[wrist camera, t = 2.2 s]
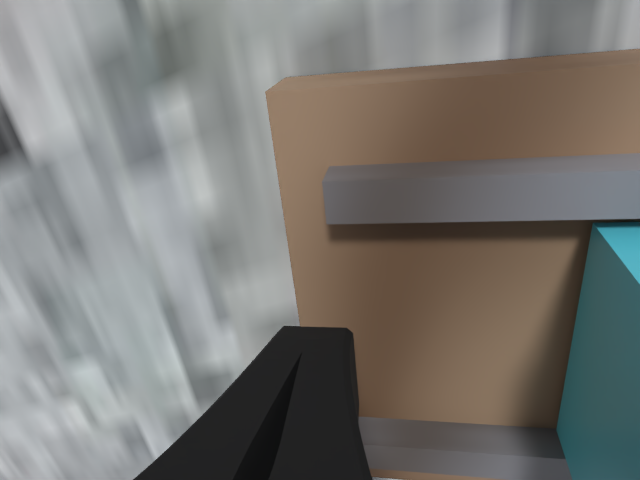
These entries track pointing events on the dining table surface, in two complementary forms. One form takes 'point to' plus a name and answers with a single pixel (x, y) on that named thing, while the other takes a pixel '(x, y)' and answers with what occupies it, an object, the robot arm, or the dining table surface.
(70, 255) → the dining table surface
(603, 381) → the fader tab
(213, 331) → the dining table surface
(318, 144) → the fader console
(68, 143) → the dining table surface
